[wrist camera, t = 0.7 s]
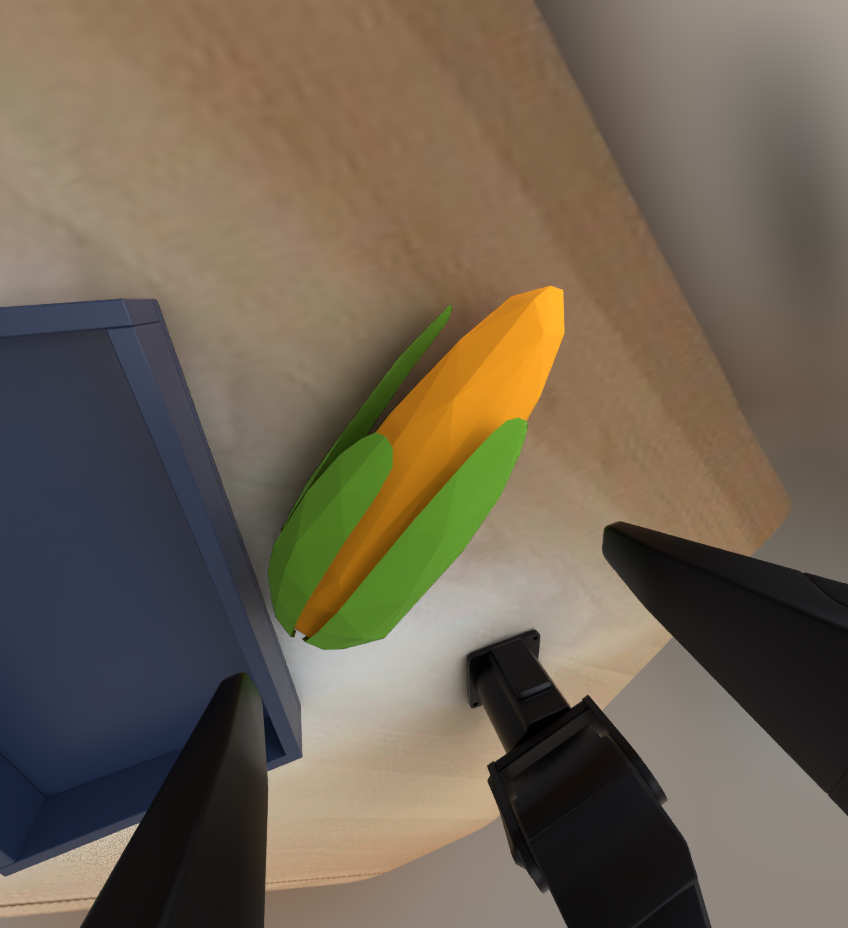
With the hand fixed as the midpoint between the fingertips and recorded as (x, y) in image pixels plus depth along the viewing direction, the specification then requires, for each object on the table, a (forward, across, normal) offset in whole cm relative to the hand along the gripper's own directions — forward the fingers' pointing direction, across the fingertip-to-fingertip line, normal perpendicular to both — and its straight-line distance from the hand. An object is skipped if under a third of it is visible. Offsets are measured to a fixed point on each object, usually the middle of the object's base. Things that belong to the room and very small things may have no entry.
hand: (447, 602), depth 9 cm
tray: (+12, +15, +5) cm, 20 cm away
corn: (+12, -2, +1) cm, 12 cm away
